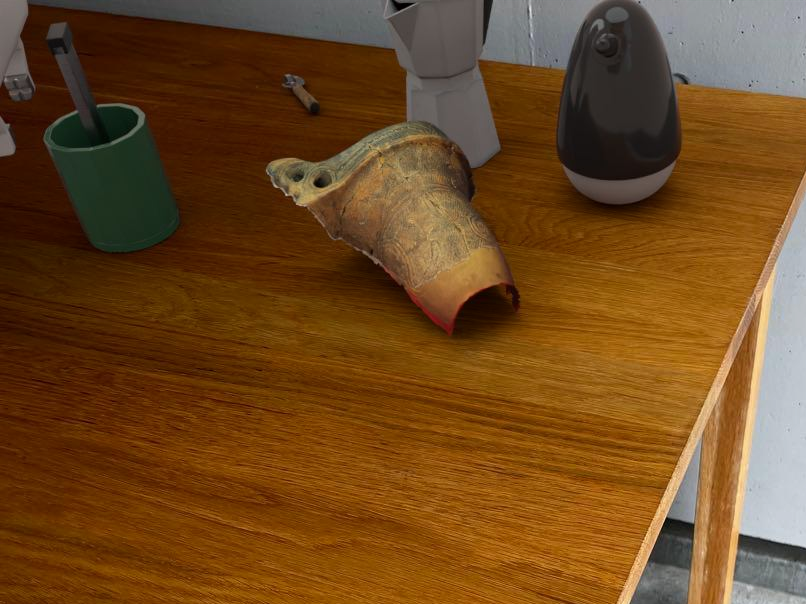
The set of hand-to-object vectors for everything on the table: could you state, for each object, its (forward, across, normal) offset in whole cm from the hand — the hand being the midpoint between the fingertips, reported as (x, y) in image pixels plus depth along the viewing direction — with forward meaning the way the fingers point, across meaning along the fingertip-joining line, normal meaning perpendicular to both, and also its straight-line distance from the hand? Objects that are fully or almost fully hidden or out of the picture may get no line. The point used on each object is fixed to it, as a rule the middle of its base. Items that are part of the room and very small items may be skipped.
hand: (16, 123), depth 84 cm
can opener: (+9, +18, -21) cm, 29 cm away
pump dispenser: (+10, -8, -47) cm, 49 cm away
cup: (+9, -2, -6) cm, 11 cm away
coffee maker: (+10, +4, -35) cm, 37 cm away
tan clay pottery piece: (+9, -16, -29) cm, 35 cm away
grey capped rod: (+1, -2, -6) cm, 7 cm away
